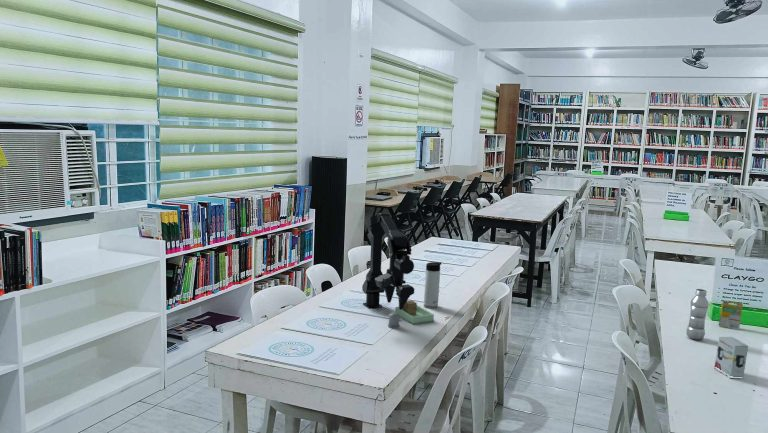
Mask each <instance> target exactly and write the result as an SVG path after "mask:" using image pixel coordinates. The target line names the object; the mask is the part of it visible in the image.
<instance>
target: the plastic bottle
mask: <svg viewBox="0 0 768 433" xmlns="http://www.w3.org/2000/svg"><path fill="white" fill-rule="evenodd" d="M706 296H707V290H706V289H703V288H696V291H695V295H694V297H693V298H691V300H690V314H689V321H688V325H687V327H686V336H687V338H689V339H692V340H696V341H698V340H699V341H700V340H703V339H704V338H705V334H706V333H705V332H706V329H705V323H706V321H705V320H706V316H707V312H708V309H709V306H710V303H709V300H708V299H707V297H706Z"/></svg>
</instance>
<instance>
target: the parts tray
mask: <svg viewBox="0 0 768 433" xmlns="http://www.w3.org/2000/svg"><path fill="white" fill-rule="evenodd" d="M394 308H395V309H394V310H395V312H394V313H398V314H399V316H400V317H399V318H401V317H402V319H403V320H404V321H405V322H408V323H409V324H411V325H418V324H419V325H420V324H425V323H426V324H427V323H431V322H434V317H435V314H434V313H432V312H431V311H429V310H427V309H425V308H424V307H422V306H419V305H418V304H417V307H416V315H410V314H408V313H406V312H405V311H403V309H402V310H400V309H399V306H395V307H394Z"/></svg>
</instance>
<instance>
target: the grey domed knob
mask: <svg viewBox="0 0 768 433" xmlns="http://www.w3.org/2000/svg"><path fill="white" fill-rule="evenodd" d="M400 326H401V325H400V317H399V314H398V313H395V312H390V313H389V315H388V324H387V327H388V329H399V328H400Z"/></svg>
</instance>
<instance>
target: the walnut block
mask: <svg viewBox="0 0 768 433" xmlns="http://www.w3.org/2000/svg"><path fill="white" fill-rule="evenodd" d="M417 305H418V303H417V302H416V301H414V300H407V302H406V303H405V305H404V307H403V311H405V312H406V313H408V314H410V315H416V307H417Z"/></svg>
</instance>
